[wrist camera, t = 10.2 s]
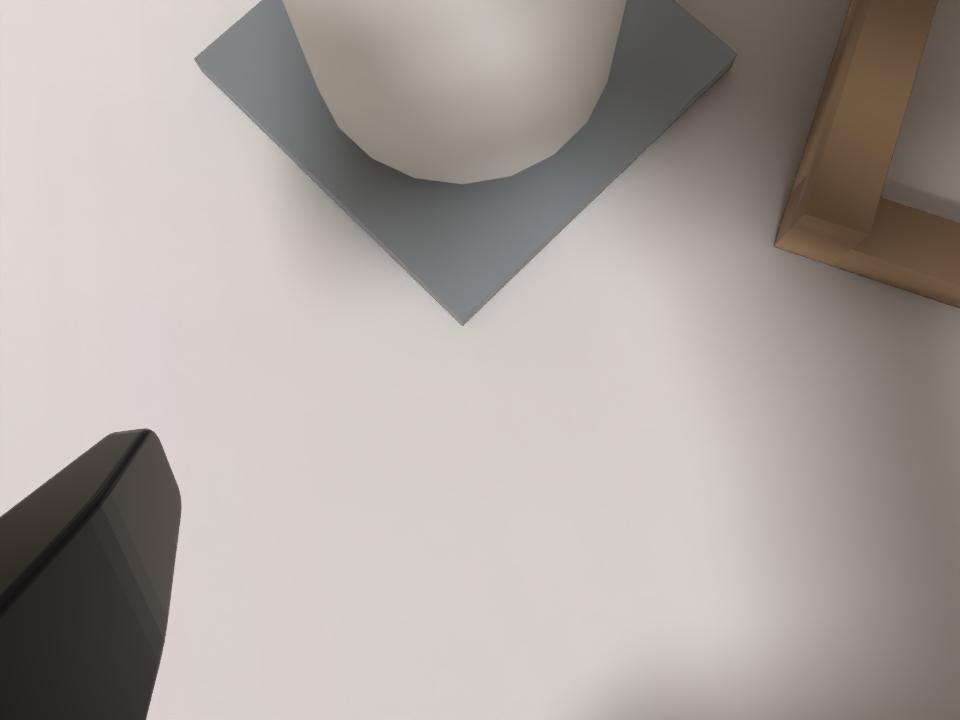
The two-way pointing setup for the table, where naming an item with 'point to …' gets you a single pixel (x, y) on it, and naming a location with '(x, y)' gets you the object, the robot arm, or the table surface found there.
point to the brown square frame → (870, 161)
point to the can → (459, 78)
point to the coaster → (480, 205)
